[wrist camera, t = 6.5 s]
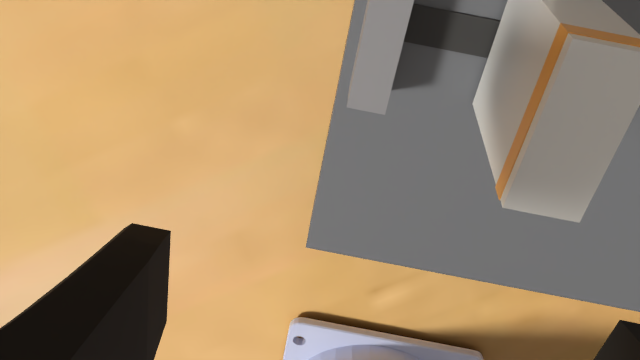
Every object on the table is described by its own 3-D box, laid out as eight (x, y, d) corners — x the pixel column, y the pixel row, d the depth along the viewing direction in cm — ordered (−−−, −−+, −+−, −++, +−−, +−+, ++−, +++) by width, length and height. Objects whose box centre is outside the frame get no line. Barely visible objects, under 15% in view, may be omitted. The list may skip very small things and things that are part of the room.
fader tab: (530, 115, 16) (580, 223, 12) (471, 104, 16) (501, 208, 12) (583, -18, 14) (666, 55, 10) (517, -31, 14) (572, 37, 10)
